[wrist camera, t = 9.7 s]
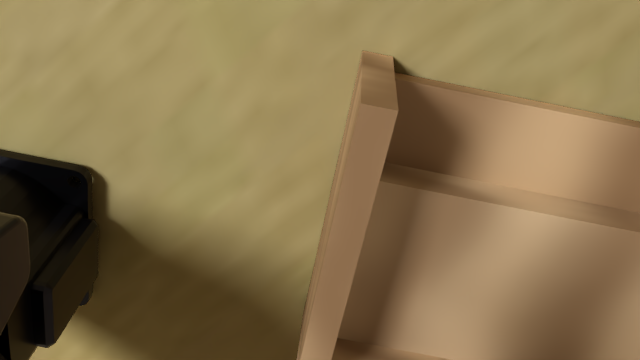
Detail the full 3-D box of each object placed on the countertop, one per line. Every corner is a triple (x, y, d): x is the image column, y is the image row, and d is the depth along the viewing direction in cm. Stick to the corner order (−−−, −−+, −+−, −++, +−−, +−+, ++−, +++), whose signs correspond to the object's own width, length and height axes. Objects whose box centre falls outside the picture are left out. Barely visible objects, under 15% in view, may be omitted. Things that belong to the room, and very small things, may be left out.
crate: (302, 314, 25) (290, 401, 21) (362, 50, 20) (360, 103, 16) (719, 394, 26) (782, 493, 22) (895, 158, 20) (1022, 236, 16)
